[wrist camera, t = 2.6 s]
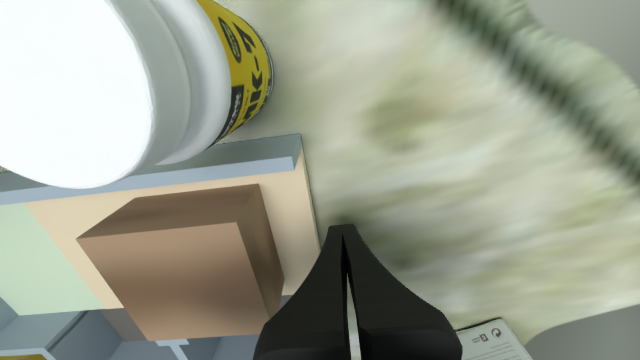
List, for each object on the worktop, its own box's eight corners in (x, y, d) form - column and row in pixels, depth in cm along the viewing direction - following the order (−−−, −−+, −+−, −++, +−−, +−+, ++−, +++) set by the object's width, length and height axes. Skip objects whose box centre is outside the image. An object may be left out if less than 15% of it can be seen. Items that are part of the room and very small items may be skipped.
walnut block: (284, 278, 16) (274, 332, 12) (182, 287, 16) (148, 341, 13) (258, 183, 13) (236, 222, 10) (135, 197, 13) (75, 238, 10)
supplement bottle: (271, 129, 12) (187, 227, 5) (179, 113, 12) (-62, 191, 5) (279, 21, 10) (156, -101, 3) (169, -1, 10) (-294, -197, 3)
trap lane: (334, 330, 19) (336, 381, 16) (68, 347, 21) (22, 397, 18) (300, 133, 12) (291, 156, 9) (-90, 184, 14) (-208, 217, 11)
